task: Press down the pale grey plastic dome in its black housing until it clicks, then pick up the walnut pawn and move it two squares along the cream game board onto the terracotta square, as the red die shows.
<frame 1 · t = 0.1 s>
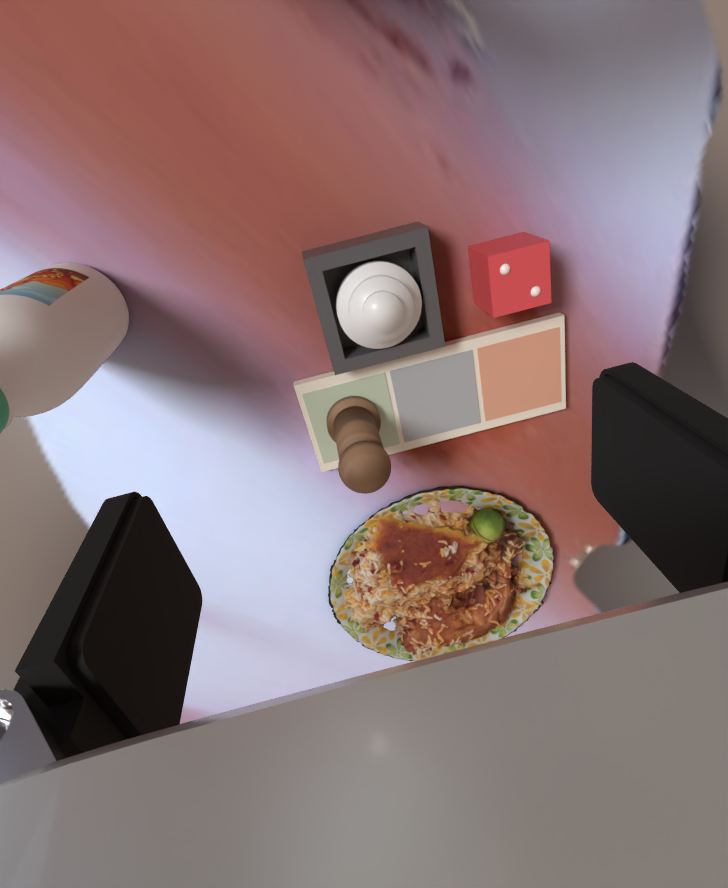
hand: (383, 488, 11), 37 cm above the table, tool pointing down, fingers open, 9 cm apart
board: (434, 393, 51), on the table
dome: (380, 308, 41), point 4 cm above the table, slide at 0.0 cm
dome housing: (372, 295, 45), on the table
rice dish: (439, 573, 64), on the table
pawn: (353, 420, 50), point 1 cm above the table, touching board
die: (498, 268, 46), on the table
milk bottle: (83, 308, 43), on the table
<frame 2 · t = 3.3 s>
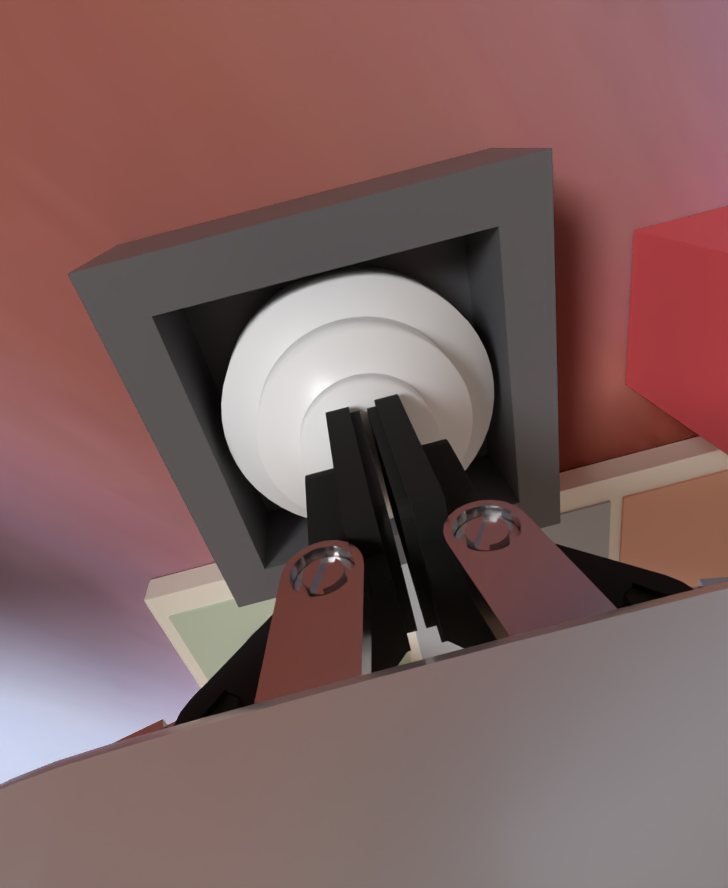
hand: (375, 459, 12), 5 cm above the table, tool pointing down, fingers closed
board: (501, 583, 21), on the table
dome: (363, 421, 13), point 3 cm above the table, slide at 1.0 cm
dome housing: (349, 371, 16), on the table
die: (706, 293, 16), on the table
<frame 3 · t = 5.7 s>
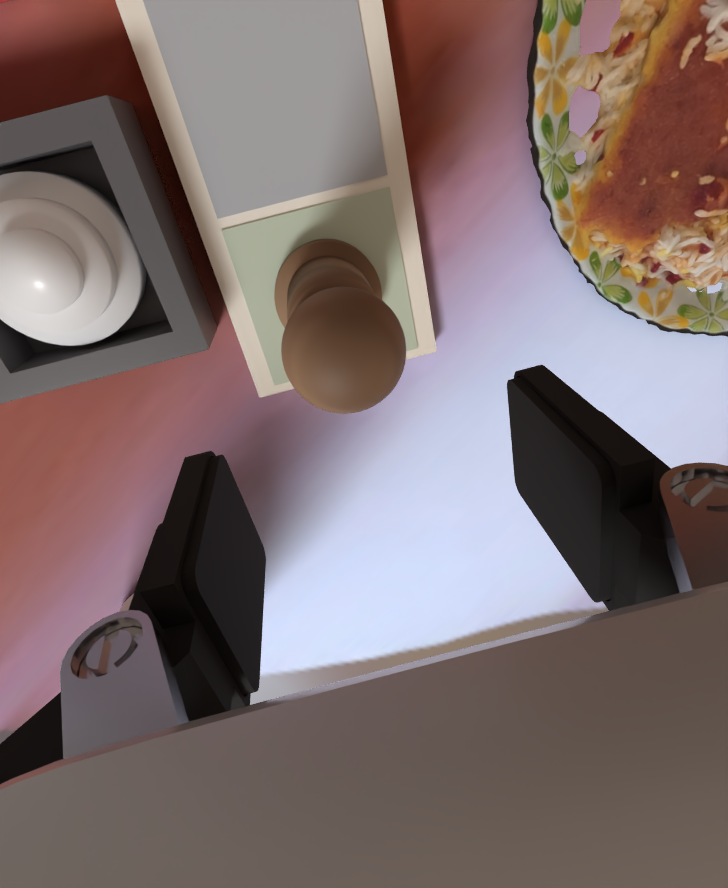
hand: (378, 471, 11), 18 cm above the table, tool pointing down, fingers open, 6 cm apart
board: (276, 95, 22), on the table
dome: (49, 266, 21), point 3 cm above the table, slide at 1.1 cm
dome housing: (77, 253, 24), on the table
pawn: (327, 294, 26), point 1 cm above the table, touching board
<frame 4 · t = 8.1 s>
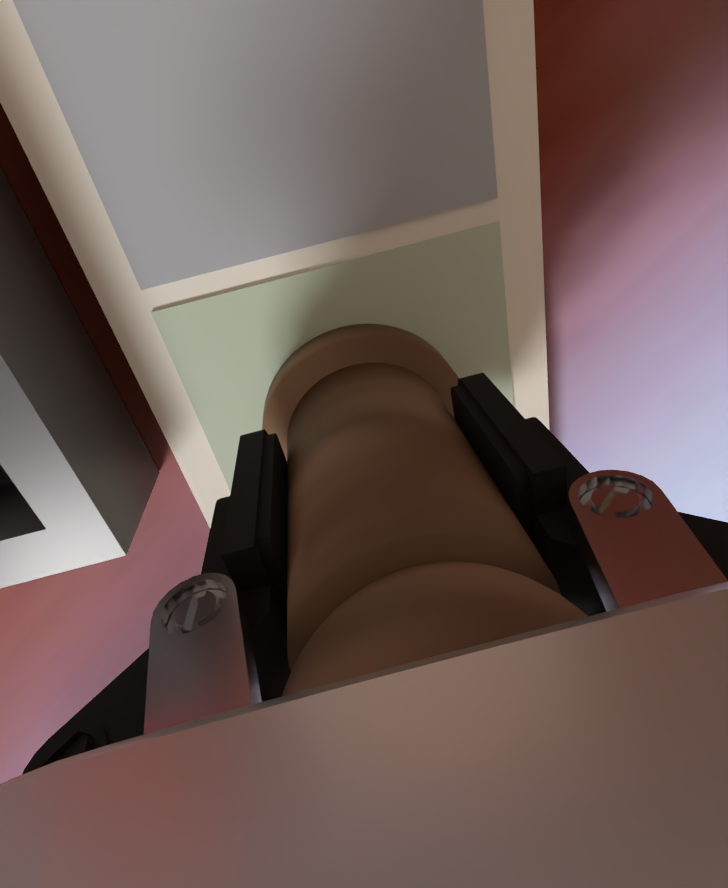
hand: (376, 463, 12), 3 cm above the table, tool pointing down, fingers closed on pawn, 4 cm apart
board: (263, 24, 10), on the table
pawn: (364, 421, 13), point 1 cm above the table, touching board, gripper
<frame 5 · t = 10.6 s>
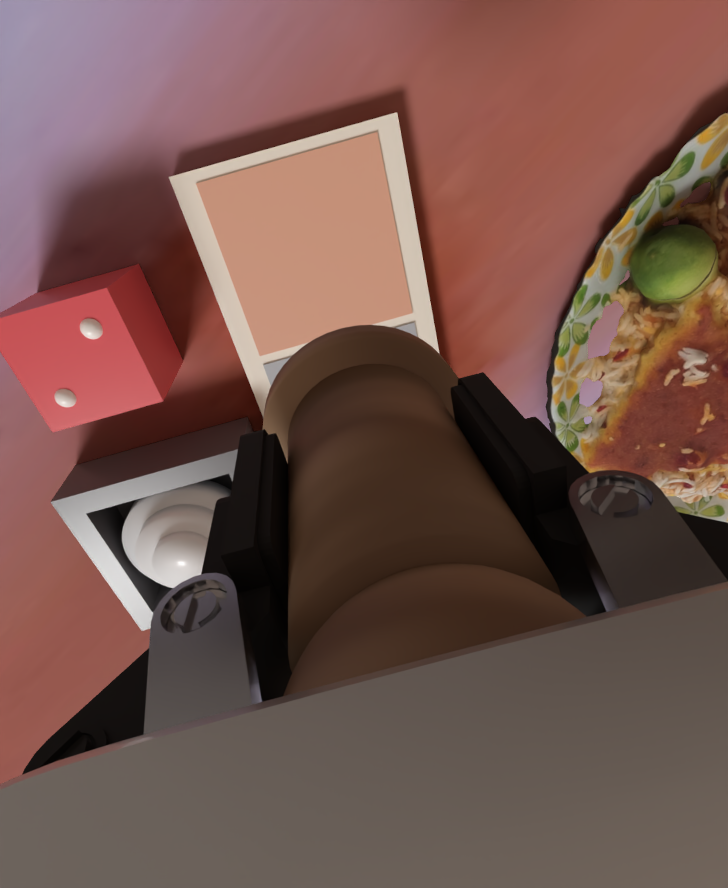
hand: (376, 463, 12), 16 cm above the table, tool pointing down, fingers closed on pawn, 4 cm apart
board: (355, 403, 29), on the table
dome: (188, 545, 28), point 3 cm above the table, slide at 1.1 cm
dome housing: (197, 509, 31), on the table
pawn: (364, 422, 13), point 14 cm above the table, touching gripper
die: (113, 328, 25), on the table
when the fingers open (5 cm above the table, at t = 13.3 s): pawn drops 1 cm, resting on board.
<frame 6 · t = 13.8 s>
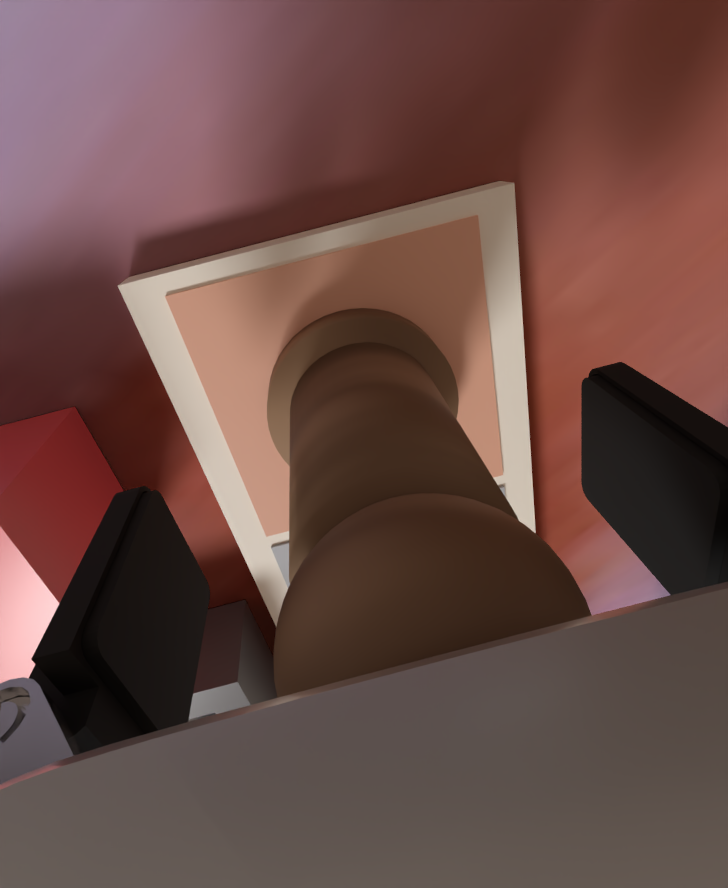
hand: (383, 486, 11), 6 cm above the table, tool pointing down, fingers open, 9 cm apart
board: (402, 578, 20), on the table
dome: (154, 790, 19), point 3 cm above the table, slide at 1.1 cm
dome housing: (171, 708, 22), on the table
pawn: (360, 398, 15), point 1 cm above the table, touching board
die: (37, 495, 16), on the table
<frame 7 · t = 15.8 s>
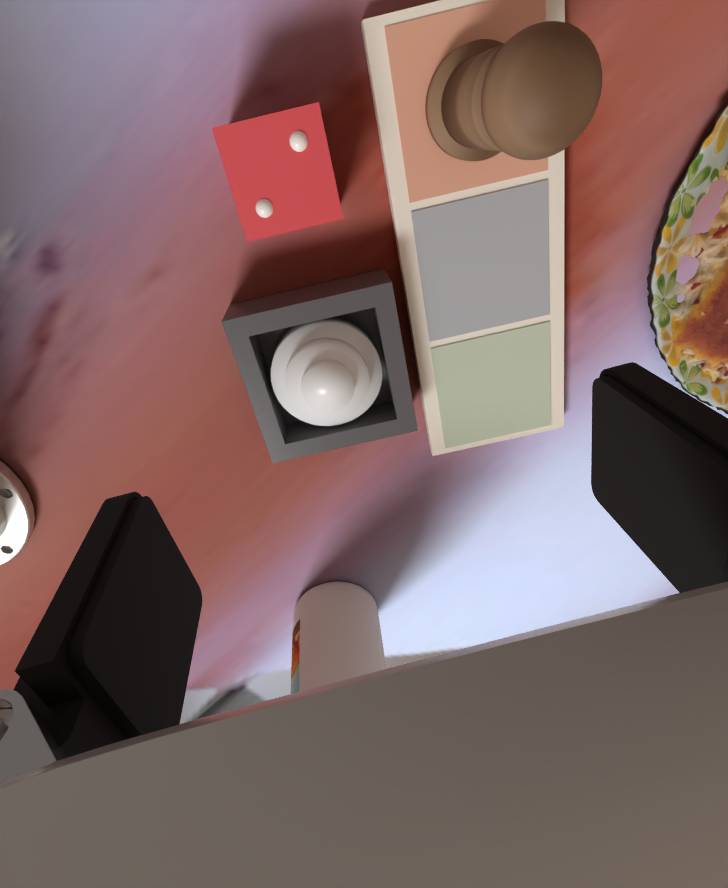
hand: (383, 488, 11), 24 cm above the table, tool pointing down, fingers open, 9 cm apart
board: (479, 262, 32), on the table
dome: (327, 378, 32), point 3 cm above the table, slide at 1.1 cm
dome housing: (325, 359, 35), on the table
pawn: (473, 104, 27), point 1 cm above the table, touching board
die: (285, 170, 29), on the table
milk bottle: (335, 606, 48), on the table
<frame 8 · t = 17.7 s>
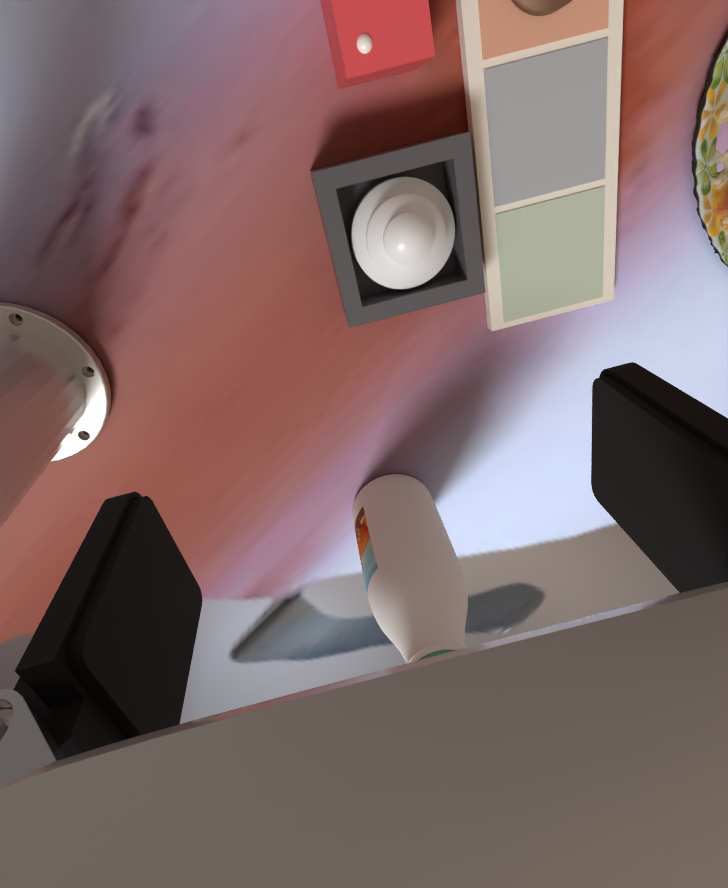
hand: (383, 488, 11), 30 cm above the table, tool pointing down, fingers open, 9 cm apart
board: (540, 128, 35), on the table
dome: (404, 236, 34), point 3 cm above the table, slide at 1.1 cm
dome housing: (395, 230, 37), on the table
die: (368, 29, 31), on the table
milk bottle: (391, 503, 49), on the table
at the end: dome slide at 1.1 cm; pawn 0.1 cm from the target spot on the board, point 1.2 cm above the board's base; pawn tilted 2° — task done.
